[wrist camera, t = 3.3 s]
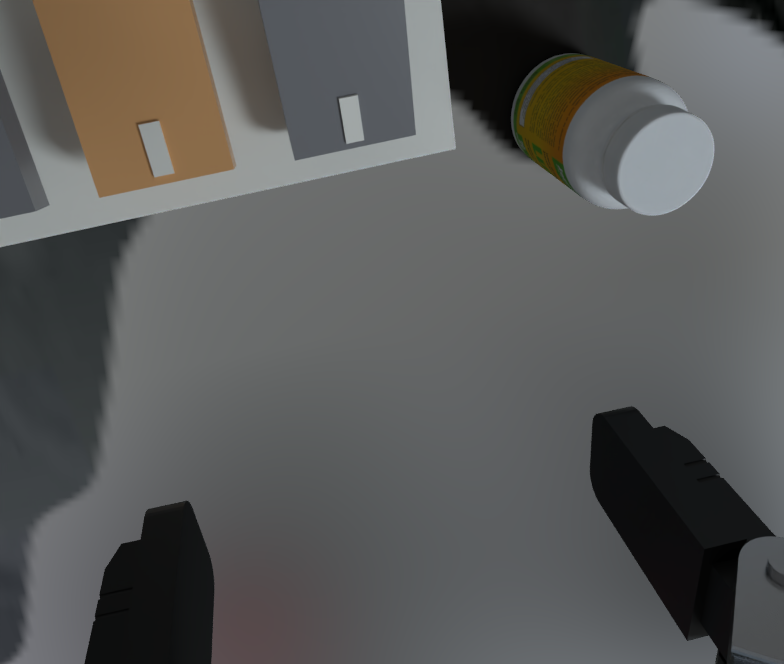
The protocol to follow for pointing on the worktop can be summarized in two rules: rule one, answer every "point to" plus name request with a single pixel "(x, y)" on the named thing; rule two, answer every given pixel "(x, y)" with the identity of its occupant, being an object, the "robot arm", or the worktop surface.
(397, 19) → the block
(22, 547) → the worktop surface
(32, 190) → the block
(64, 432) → the worktop surface
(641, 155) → the supplement bottle
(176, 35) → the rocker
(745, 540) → the robot arm
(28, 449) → the worktop surface
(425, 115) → the power strip
